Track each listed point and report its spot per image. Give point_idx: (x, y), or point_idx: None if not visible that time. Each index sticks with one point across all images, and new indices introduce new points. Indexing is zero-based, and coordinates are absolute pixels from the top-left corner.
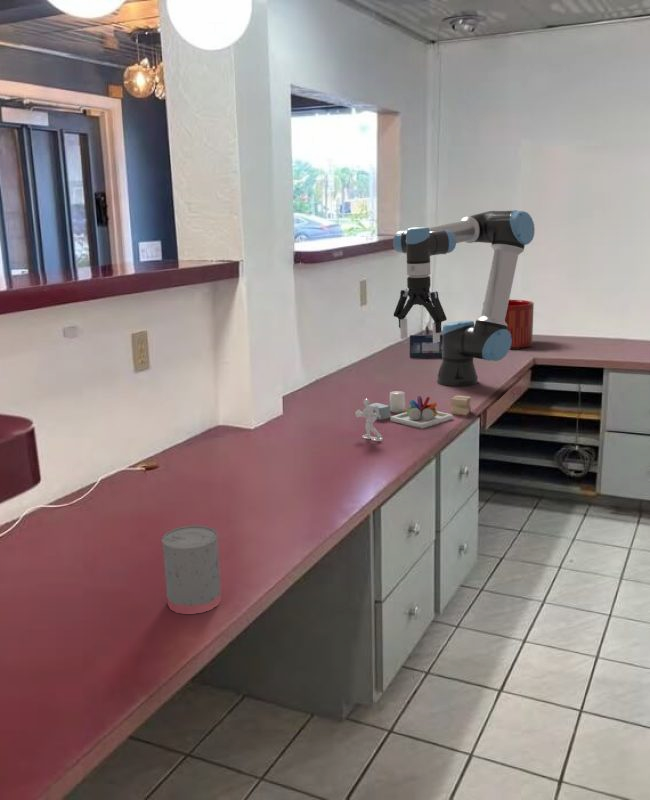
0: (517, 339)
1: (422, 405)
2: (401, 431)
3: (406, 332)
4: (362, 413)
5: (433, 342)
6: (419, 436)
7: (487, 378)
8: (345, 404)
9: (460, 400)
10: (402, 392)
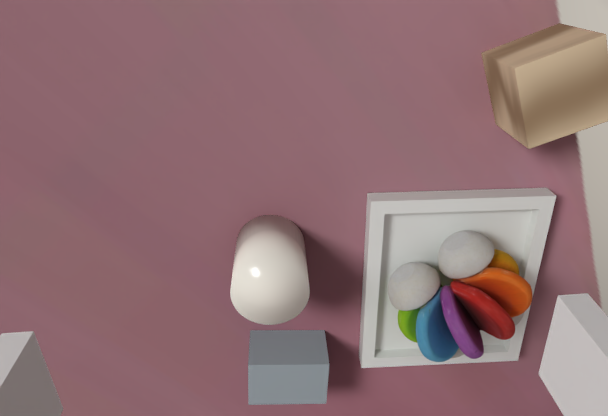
0: None
1: (462, 307)
2: (468, 403)
3: (6, 408)
4: None
5: (550, 378)
6: (547, 401)
7: None
8: (31, 320)
9: (579, 129)
10: (281, 270)
